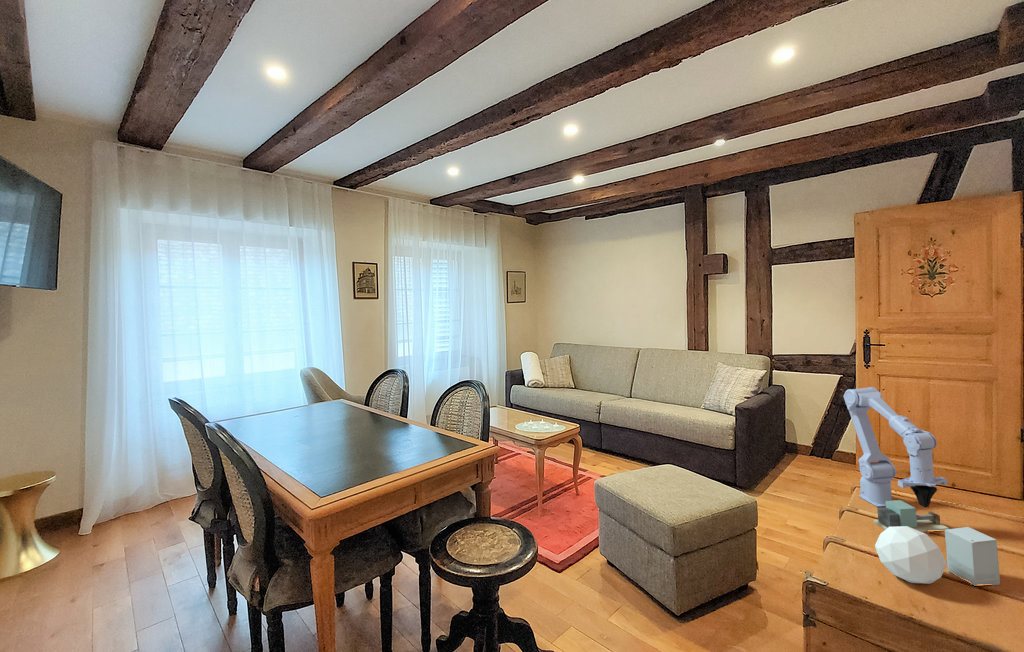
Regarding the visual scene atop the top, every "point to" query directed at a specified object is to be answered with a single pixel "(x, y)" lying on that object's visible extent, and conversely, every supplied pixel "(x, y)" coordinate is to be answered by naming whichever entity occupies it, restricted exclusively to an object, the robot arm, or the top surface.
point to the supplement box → (972, 556)
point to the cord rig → (923, 524)
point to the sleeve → (903, 512)
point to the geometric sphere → (910, 555)
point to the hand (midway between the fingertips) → (923, 505)
